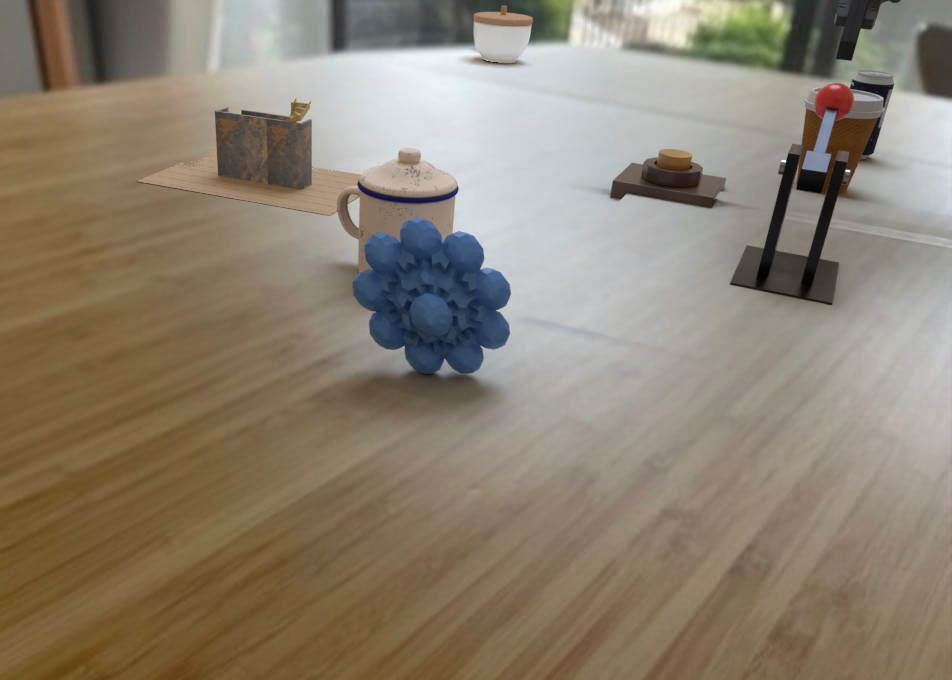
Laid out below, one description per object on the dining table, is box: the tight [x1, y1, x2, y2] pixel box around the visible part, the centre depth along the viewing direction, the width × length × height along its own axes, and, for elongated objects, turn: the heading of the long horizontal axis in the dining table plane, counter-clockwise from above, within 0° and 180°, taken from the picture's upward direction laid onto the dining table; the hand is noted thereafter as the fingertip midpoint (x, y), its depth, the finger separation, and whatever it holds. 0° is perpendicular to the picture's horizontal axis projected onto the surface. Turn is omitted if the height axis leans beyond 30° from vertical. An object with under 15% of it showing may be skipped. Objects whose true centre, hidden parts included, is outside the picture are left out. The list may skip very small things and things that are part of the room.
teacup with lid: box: [336, 147, 460, 273], centre depth 83 cm, size 12×9×12 cm
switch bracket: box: [729, 143, 851, 306], centre depth 85 cm, size 12×9×13 cm
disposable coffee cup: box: [795, 86, 885, 194], centre depth 117 cm, size 10×10×12 cm
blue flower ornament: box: [352, 217, 512, 375], centre depth 64 cm, size 12×7×12 cm, turn 86°
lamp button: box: [656, 148, 693, 170], centre depth 110 cm, size 4×4×2 cm
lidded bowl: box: [472, 5, 534, 64], centre depth 194 cm, size 13×13×11 cm
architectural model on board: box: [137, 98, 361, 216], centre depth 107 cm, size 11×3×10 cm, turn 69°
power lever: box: [795, 82, 854, 195], centre depth 86 cm, size 14×4×4 cm, turn 155°
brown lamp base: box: [609, 156, 727, 209], centre depth 111 cm, size 12×10×4 cm
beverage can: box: [849, 69, 895, 160], centre depth 134 cm, size 6×6×12 cm
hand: (846, 50), depth 89 cm, fingers closed
